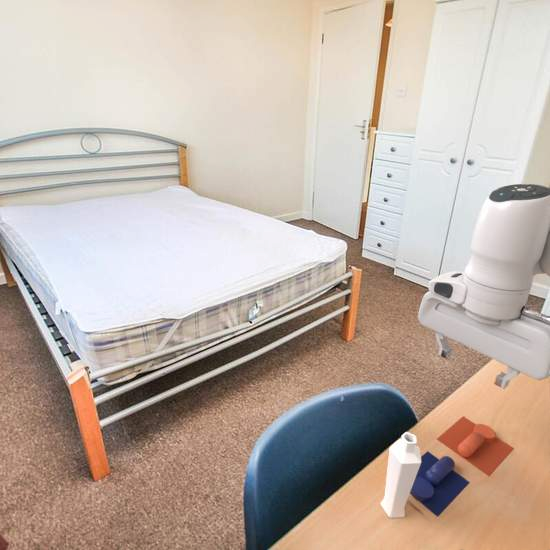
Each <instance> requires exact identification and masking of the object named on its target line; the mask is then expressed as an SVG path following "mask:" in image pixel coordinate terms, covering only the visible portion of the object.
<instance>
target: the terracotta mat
mask: <svg viewBox="0 0 550 550" xmlns="http://www.w3.org/2000/svg"><path fill="white" fill-rule="evenodd" d="M475 425H477V423H475V422H473V421H471V420H470V419H468V418H467V417H465V416H463V415H462V416H461V417H460V418H459V419H458V420H457V421H455V423H453V424H452V425H451V426H450V427H448V429H446V430H445V431H444V432H443V433H441V435H439V436H438V437H437V438H436V440H437V441H439V442H440V443H441V444H442V445H444V446H446V447H447V448H448V449H450V450H451V451H452V452H454V453H455V454H457V455H458V456H459V457H461V458H462V459H464V460H465V461H466V462H468V463H469V464H471V465H472V466H473V467H475V468H477V470H479V471H480V472H482V473H483V474H485V475H486V476H488V477H490V476H491V475H492V474H493V473H494V472H495V471H496V470H497V469H498V467H500V465H501V464H502V463H503V462H504V460H505V459H507V457H508V456H509V455H510V454H511V453H512V451H514V449H515V448H514V447H513V446H512V445H509V444H508V443H507V442H505V441H503V440H502V439H500V438H499V437H497V436H495V437H494V440H493V441H492V442H490V443H486V442H484V443H483V444H482V445H481V446H480V447H479V448H478V449H477V450H476V451H475V452H474V453H473V454H472V455H471V456H469V457H463V456H461V455H460V454H459V452H458V446H459V444H460V443H461V442H463V441H464V440H465V439H466V438H467V437H468V436H469V435H470V434H471V433H472V432H473V430H474V427H475Z"/></svg>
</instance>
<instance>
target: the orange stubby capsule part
mask: <svg viewBox="0 0 550 550" xmlns="http://www.w3.org/2000/svg"><path fill="white" fill-rule="evenodd" d="M494 437H496V432H495V430H494V429H493V428H491V426H489V425H487V424H484V423H476V425H475V427H474V430H473V432H472V433H471V434H470V435H469V436H468V437H467V438H466V439H465V440H464V441H463V442H461V443H460V444H459V446H458V452H459V454H460V455H461V456H463V457H469V456H471V455H472V454H473V453H474V452H475V451H476V450H477V449H478V448H479V447H480V446H481V445H482V444H483V443H484V442H486V443H490V442H492V441H493V440H494ZM460 455H459V456H460ZM461 456H460V457H461Z"/></svg>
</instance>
